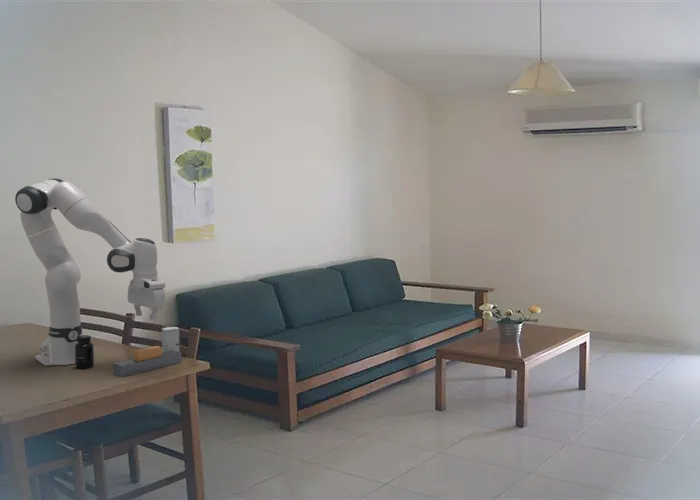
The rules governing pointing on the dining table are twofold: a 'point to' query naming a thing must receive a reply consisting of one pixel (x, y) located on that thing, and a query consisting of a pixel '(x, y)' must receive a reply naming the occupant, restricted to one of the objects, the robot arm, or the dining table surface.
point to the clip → (147, 353)
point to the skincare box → (170, 339)
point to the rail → (146, 364)
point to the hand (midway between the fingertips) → (145, 317)
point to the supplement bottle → (84, 352)
